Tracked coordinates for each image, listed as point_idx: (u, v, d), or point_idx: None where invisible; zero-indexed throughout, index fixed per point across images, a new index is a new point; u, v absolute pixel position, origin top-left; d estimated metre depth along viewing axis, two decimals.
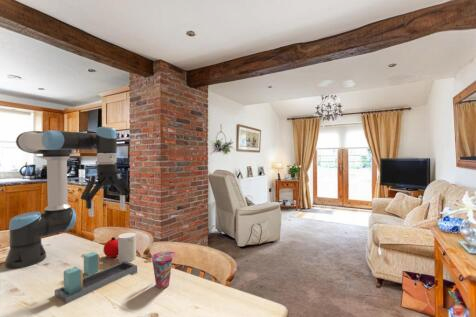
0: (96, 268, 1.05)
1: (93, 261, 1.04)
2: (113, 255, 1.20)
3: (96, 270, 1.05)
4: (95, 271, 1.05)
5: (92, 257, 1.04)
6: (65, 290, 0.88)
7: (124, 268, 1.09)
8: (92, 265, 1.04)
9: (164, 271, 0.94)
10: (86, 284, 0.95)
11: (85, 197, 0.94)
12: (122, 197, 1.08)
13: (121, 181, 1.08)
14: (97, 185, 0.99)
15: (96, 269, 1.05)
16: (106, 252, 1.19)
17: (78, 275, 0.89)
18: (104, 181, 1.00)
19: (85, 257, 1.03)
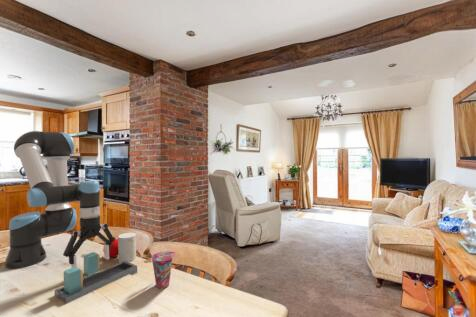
0: (96, 268, 1.05)
1: (93, 261, 1.04)
2: (113, 255, 1.20)
3: (96, 270, 1.05)
4: (95, 271, 1.05)
5: (92, 257, 1.04)
6: (65, 290, 0.88)
7: (124, 268, 1.09)
8: (92, 265, 1.04)
9: (164, 271, 0.94)
10: (86, 284, 0.95)
11: (67, 254, 0.96)
12: (106, 247, 1.10)
13: (105, 231, 1.10)
14: (80, 239, 1.01)
15: (96, 269, 1.05)
16: None
17: (78, 275, 0.89)
18: (87, 235, 1.02)
19: (85, 257, 1.03)
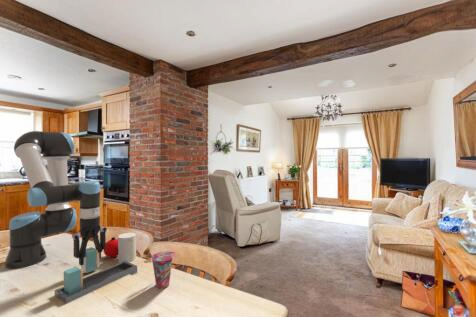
0: (94, 263, 1.05)
1: (91, 256, 1.04)
2: (113, 255, 1.20)
3: (94, 265, 1.05)
4: (93, 266, 1.05)
5: (90, 252, 1.04)
6: (65, 290, 0.88)
7: (124, 268, 1.09)
8: (90, 260, 1.04)
9: (164, 271, 0.94)
10: (86, 284, 0.95)
11: (77, 256, 1.00)
12: None
13: (101, 235, 1.09)
14: (83, 241, 1.03)
15: (94, 264, 1.05)
16: (106, 252, 1.19)
17: (78, 275, 0.89)
18: (88, 236, 1.03)
19: None
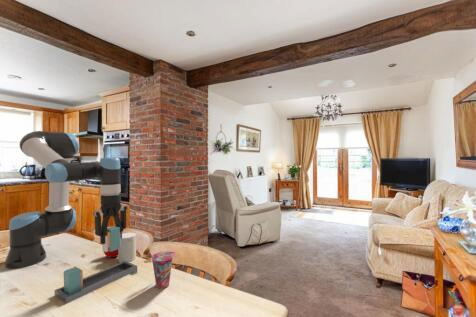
0: None
1: None
2: (113, 255, 1.20)
3: None
4: None
5: None
6: (65, 290, 0.88)
7: (124, 268, 1.09)
8: None
9: (164, 271, 0.94)
10: (86, 284, 0.95)
11: None
12: None
13: None
14: None
15: None
16: (106, 252, 1.19)
17: (78, 275, 0.89)
18: None
19: None
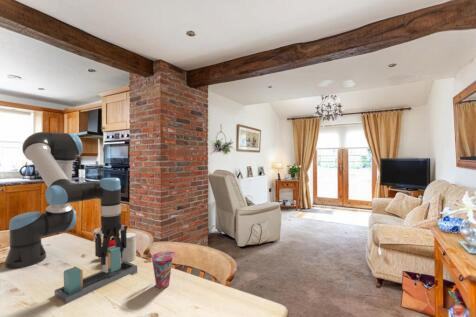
0: None
1: None
2: None
3: None
4: None
5: None
6: (65, 290, 0.88)
7: (124, 268, 1.09)
8: None
9: (164, 271, 0.94)
10: (86, 284, 0.95)
11: None
12: None
13: None
14: None
15: None
16: None
17: (78, 275, 0.89)
18: None
19: None
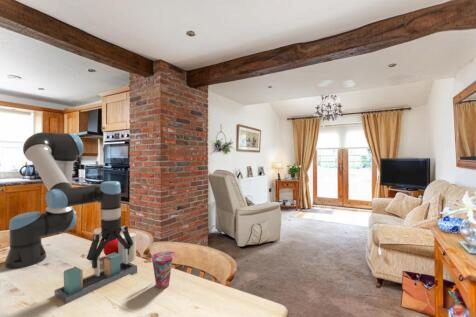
0: None
1: None
2: None
3: None
4: None
5: None
6: (65, 290, 0.88)
7: (124, 268, 1.09)
8: None
9: (164, 271, 0.94)
10: (86, 284, 0.95)
11: None
12: None
13: None
14: None
15: None
16: (106, 252, 1.19)
17: (78, 275, 0.89)
18: None
19: None
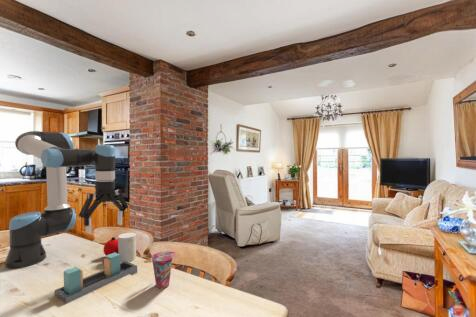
0: None
1: None
2: None
3: None
4: None
5: None
6: (65, 290, 0.88)
7: (124, 268, 1.09)
8: None
9: (164, 270, 0.94)
10: (86, 284, 0.95)
11: None
12: None
13: None
14: None
15: None
16: (106, 252, 1.19)
17: (78, 275, 0.89)
18: None
19: None
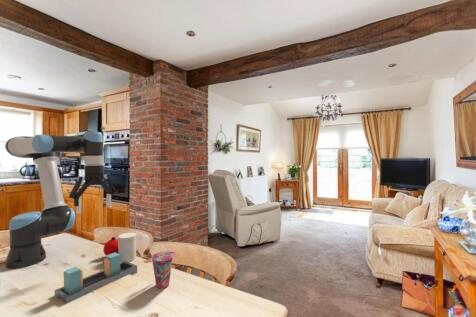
0: None
1: None
2: None
3: None
4: None
5: None
6: (65, 290, 0.88)
7: (124, 268, 1.09)
8: None
9: (164, 271, 0.94)
10: (86, 284, 0.95)
11: None
12: None
13: None
14: None
15: None
16: (106, 252, 1.19)
17: (78, 275, 0.89)
18: None
19: None
